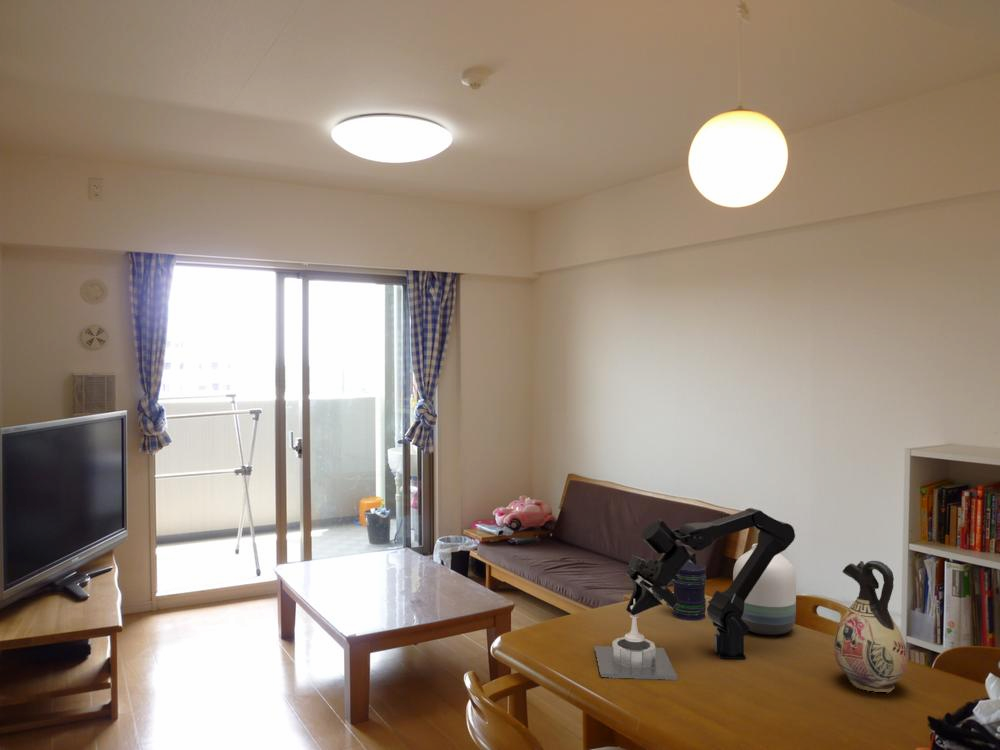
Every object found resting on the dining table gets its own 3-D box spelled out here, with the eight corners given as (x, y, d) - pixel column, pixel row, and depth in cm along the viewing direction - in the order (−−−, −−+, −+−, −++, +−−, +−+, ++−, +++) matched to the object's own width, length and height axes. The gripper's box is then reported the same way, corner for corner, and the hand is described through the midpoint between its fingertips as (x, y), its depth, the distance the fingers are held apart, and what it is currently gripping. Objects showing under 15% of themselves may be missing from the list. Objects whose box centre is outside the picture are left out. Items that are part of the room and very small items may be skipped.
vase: (720, 625, 208) (720, 543, 208) (759, 616, 217) (759, 537, 217) (768, 644, 193) (768, 555, 194) (808, 633, 202) (808, 548, 202)
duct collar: (663, 651, 188) (663, 632, 188) (677, 680, 170) (677, 658, 170) (594, 649, 188) (594, 630, 189) (600, 678, 170) (601, 657, 171)
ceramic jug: (818, 678, 171) (818, 553, 171) (864, 668, 177) (864, 547, 178) (881, 708, 155) (881, 570, 156) (929, 696, 162) (929, 563, 162)
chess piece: (624, 641, 177) (624, 601, 177) (624, 634, 182) (624, 595, 182) (644, 642, 176) (644, 602, 176) (643, 635, 181) (643, 596, 181)
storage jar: (673, 619, 213) (673, 569, 213) (671, 609, 223) (671, 561, 223) (707, 621, 211) (707, 571, 211) (703, 611, 221) (704, 563, 221)
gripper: (632, 536, 189) (594, 581, 186) (665, 553, 171) (623, 603, 168) (659, 564, 191) (622, 609, 188) (695, 583, 173) (654, 633, 170)
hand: (629, 612), depth 179 cm, fingers closed on chess piece
